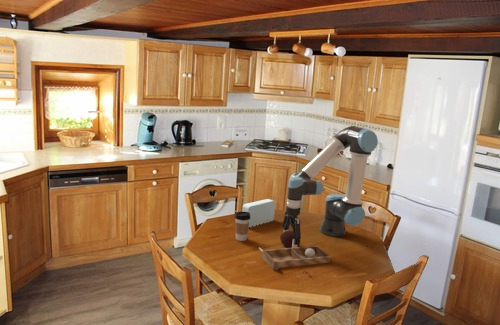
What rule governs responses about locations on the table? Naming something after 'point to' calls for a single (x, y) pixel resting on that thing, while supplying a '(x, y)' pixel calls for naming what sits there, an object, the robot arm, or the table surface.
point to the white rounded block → (260, 211)
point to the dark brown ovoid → (288, 238)
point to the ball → (309, 253)
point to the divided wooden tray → (294, 257)
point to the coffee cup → (242, 225)
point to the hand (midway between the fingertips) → (289, 245)
